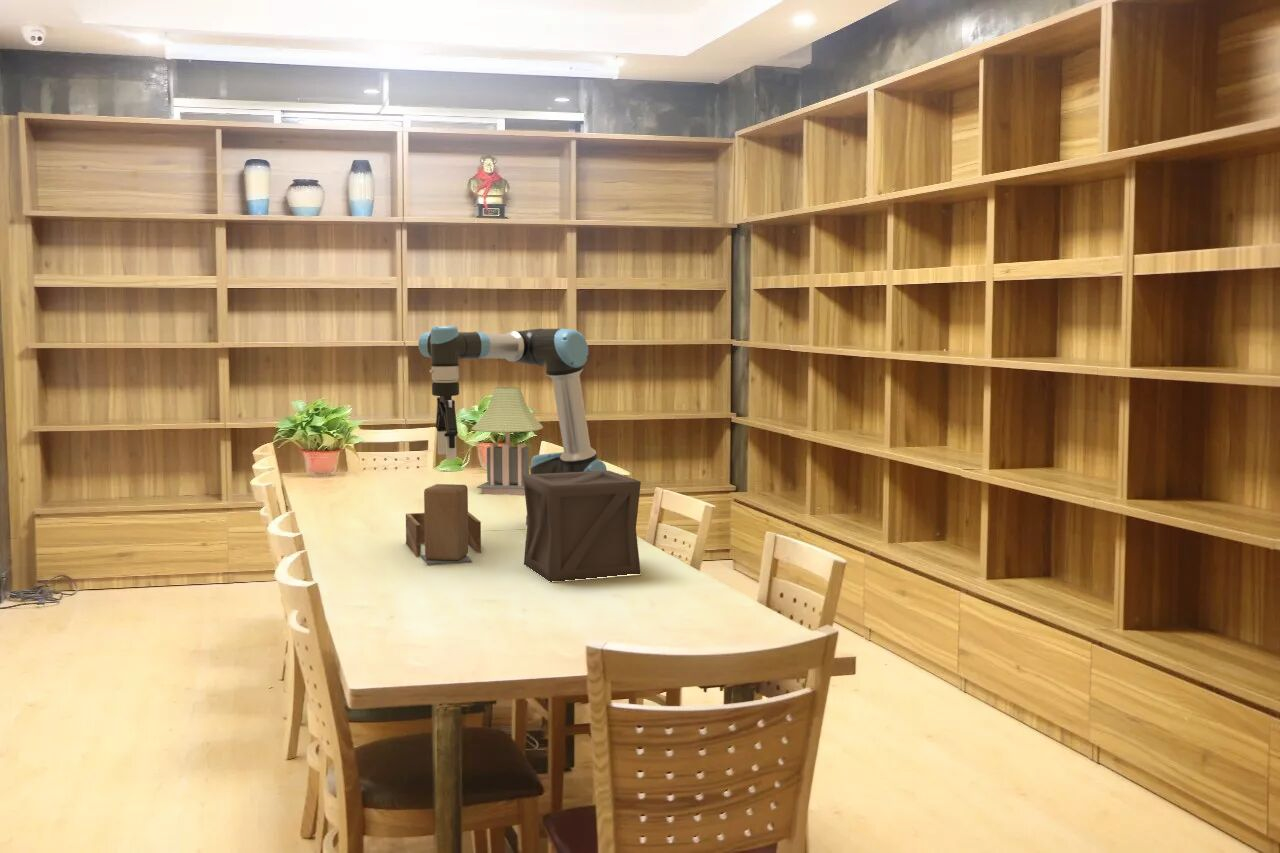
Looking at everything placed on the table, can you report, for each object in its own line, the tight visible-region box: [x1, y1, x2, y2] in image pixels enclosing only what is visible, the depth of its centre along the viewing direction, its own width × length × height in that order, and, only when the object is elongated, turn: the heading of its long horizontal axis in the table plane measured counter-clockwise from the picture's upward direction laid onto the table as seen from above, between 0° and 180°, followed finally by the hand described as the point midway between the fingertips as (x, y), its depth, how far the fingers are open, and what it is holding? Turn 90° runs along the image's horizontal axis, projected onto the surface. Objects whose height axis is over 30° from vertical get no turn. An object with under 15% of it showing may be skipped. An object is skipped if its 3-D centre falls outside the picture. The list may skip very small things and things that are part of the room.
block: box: [423, 483, 469, 561], centre depth 348 cm, size 10×10×20 cm
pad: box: [420, 554, 473, 566], centre depth 349 cm, size 12×12×1 cm
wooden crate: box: [523, 470, 642, 583], centre depth 334 cm, size 25×25×25 cm
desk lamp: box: [471, 386, 544, 496], centre depth 479 cm, size 26×28×40 cm
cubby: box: [405, 511, 482, 558], centre depth 366 cm, size 18×21×9 cm
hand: (447, 457), depth 351 cm, fingers open, 13 cm apart
